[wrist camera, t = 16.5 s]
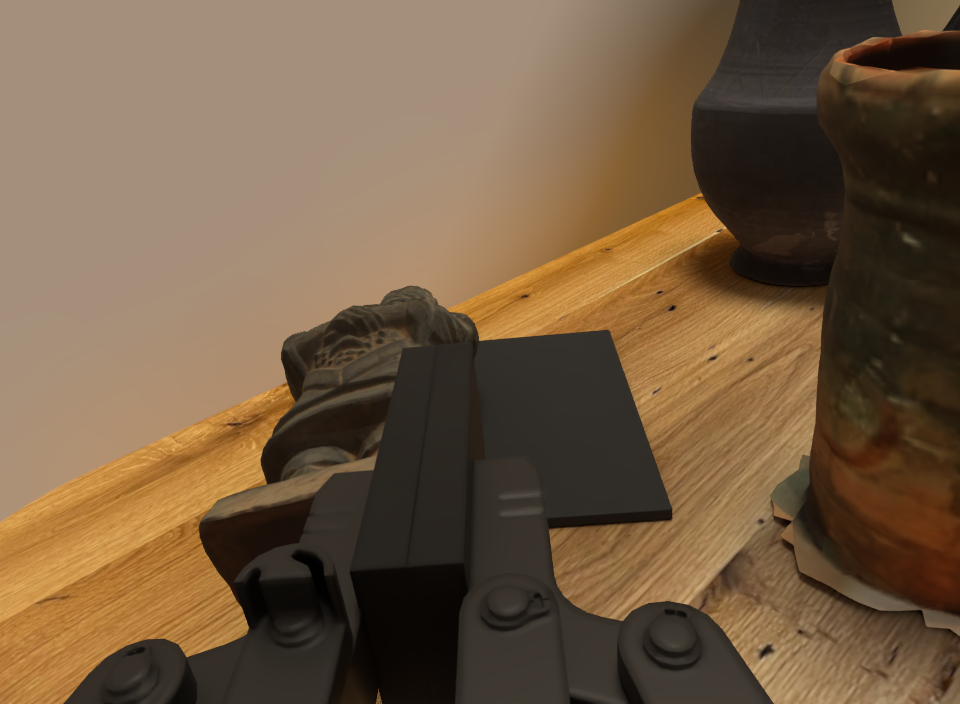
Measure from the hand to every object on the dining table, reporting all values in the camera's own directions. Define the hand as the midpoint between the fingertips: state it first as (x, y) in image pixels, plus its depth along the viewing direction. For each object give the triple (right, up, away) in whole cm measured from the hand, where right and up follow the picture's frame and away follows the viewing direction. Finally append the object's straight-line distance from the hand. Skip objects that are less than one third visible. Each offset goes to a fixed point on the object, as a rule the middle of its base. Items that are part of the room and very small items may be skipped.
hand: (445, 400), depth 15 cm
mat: (+3, -3, +27) cm, 27 cm away
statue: (-5, -7, +9) cm, 12 cm away
